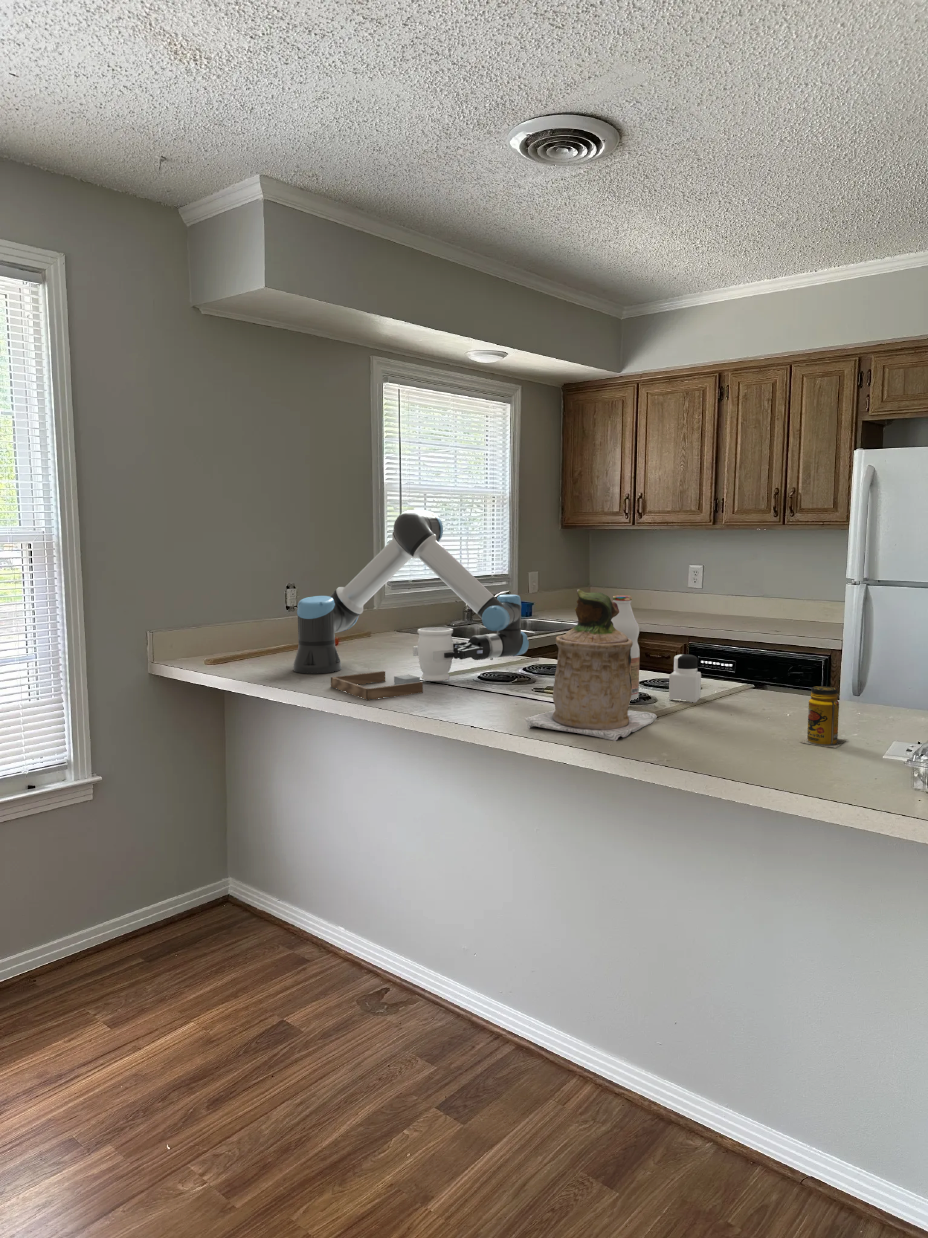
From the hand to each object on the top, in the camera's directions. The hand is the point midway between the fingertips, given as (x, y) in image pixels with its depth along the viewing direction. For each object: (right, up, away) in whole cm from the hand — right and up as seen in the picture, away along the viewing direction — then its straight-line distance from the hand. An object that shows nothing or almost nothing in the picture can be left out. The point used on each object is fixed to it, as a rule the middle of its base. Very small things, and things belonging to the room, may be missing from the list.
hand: (423, 653), depth 251 cm
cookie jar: (+42, -15, -49) cm, 66 cm away
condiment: (+90, -17, -66) cm, 113 cm away
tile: (-5, -10, -2) cm, 11 cm away
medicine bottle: (+71, -12, -22) cm, 75 cm away
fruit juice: (+54, -12, -24) cm, 60 cm away
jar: (+3, -8, +3) cm, 9 cm away
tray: (-13, -10, -8) cm, 18 cm away
